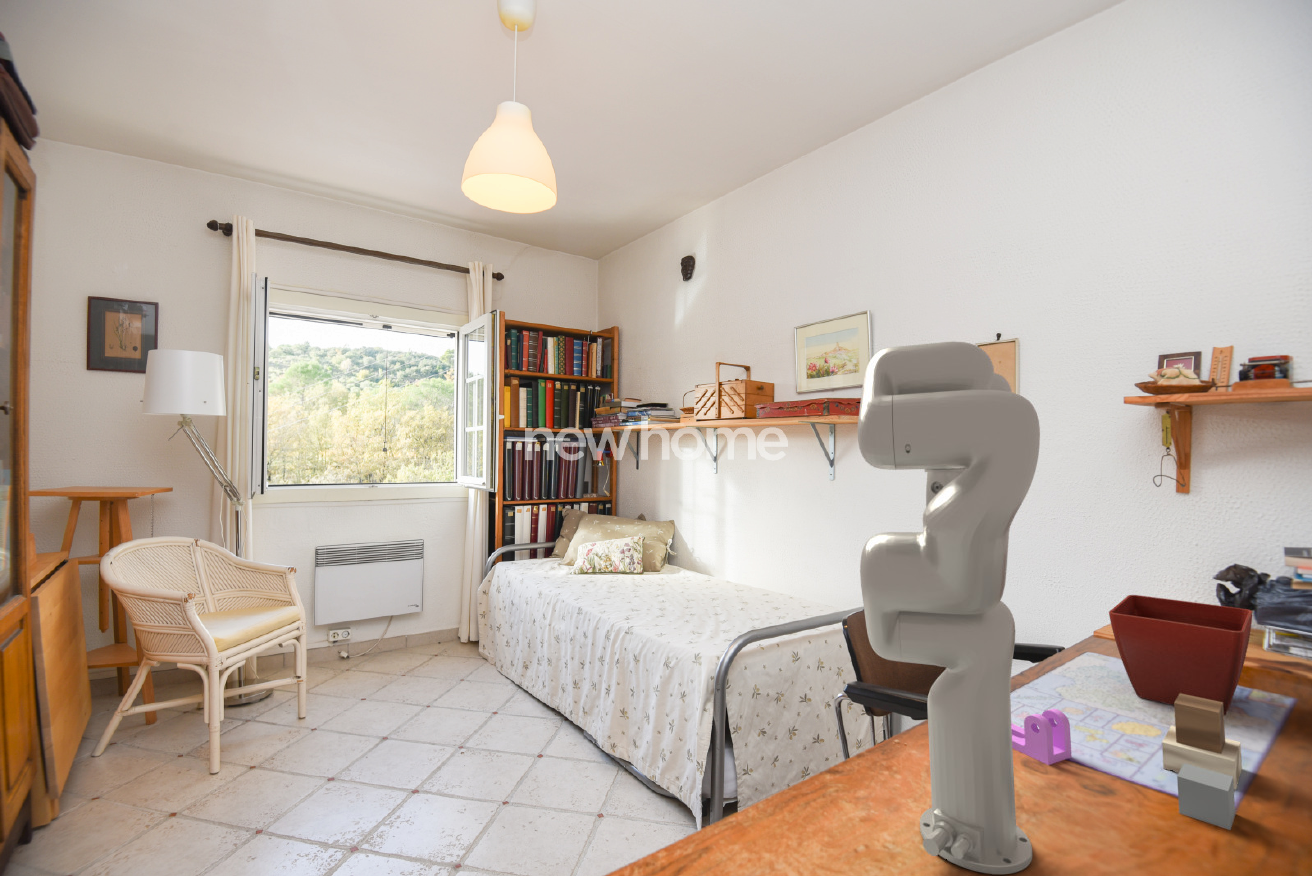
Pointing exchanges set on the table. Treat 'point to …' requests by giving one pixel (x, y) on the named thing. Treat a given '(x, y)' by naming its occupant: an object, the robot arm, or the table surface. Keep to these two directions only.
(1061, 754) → the bracket
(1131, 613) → the plant pot
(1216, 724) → the walnut block
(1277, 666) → the table surface
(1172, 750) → the birch block
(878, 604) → the robot arm
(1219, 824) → the grey block
